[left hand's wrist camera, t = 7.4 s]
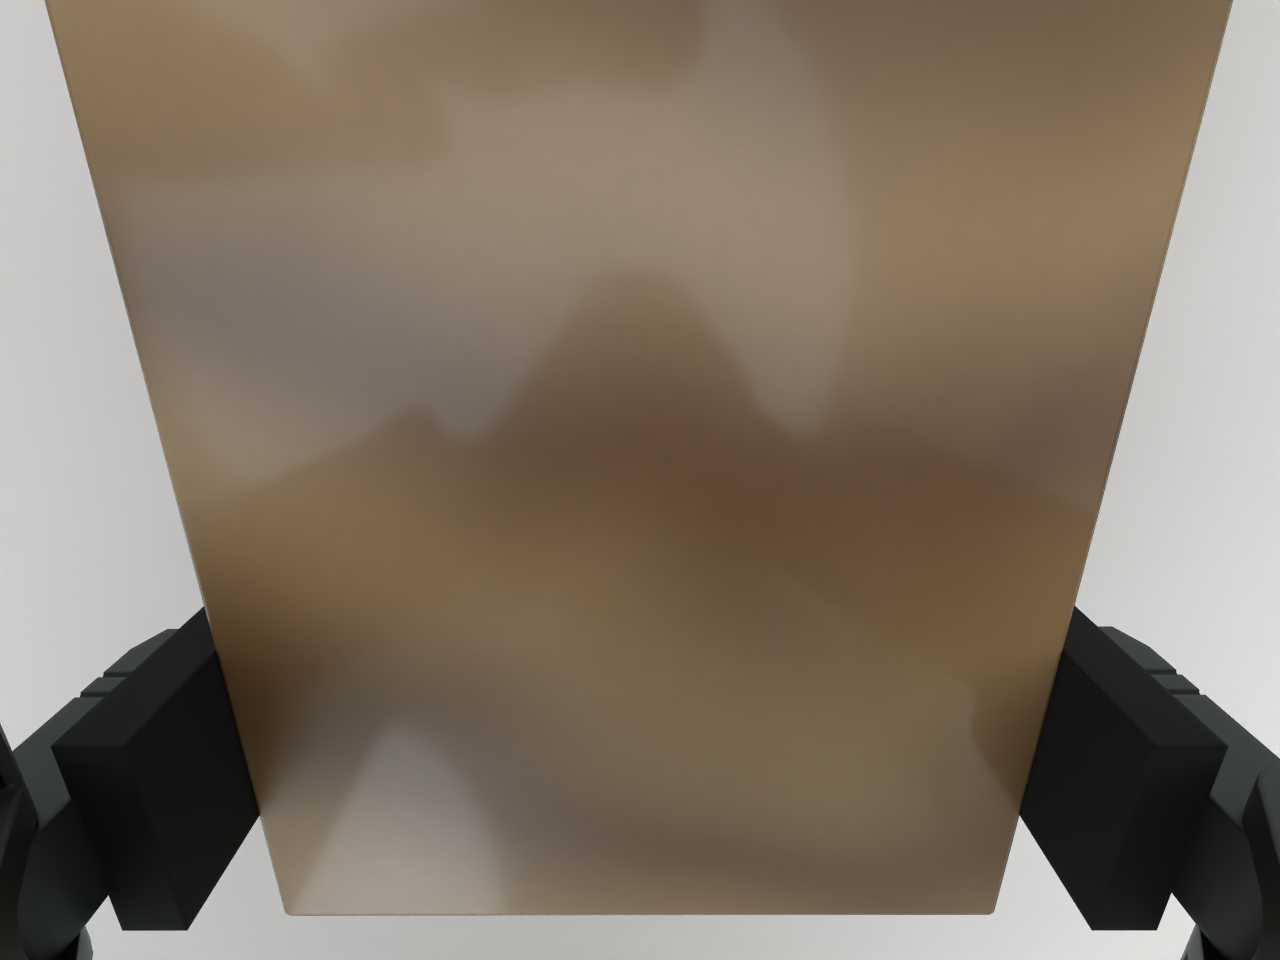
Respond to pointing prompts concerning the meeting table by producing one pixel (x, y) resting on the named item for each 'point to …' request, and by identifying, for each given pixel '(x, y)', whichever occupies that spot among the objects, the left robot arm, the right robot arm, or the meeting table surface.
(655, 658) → the cabinet
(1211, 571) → the meeting table surface
